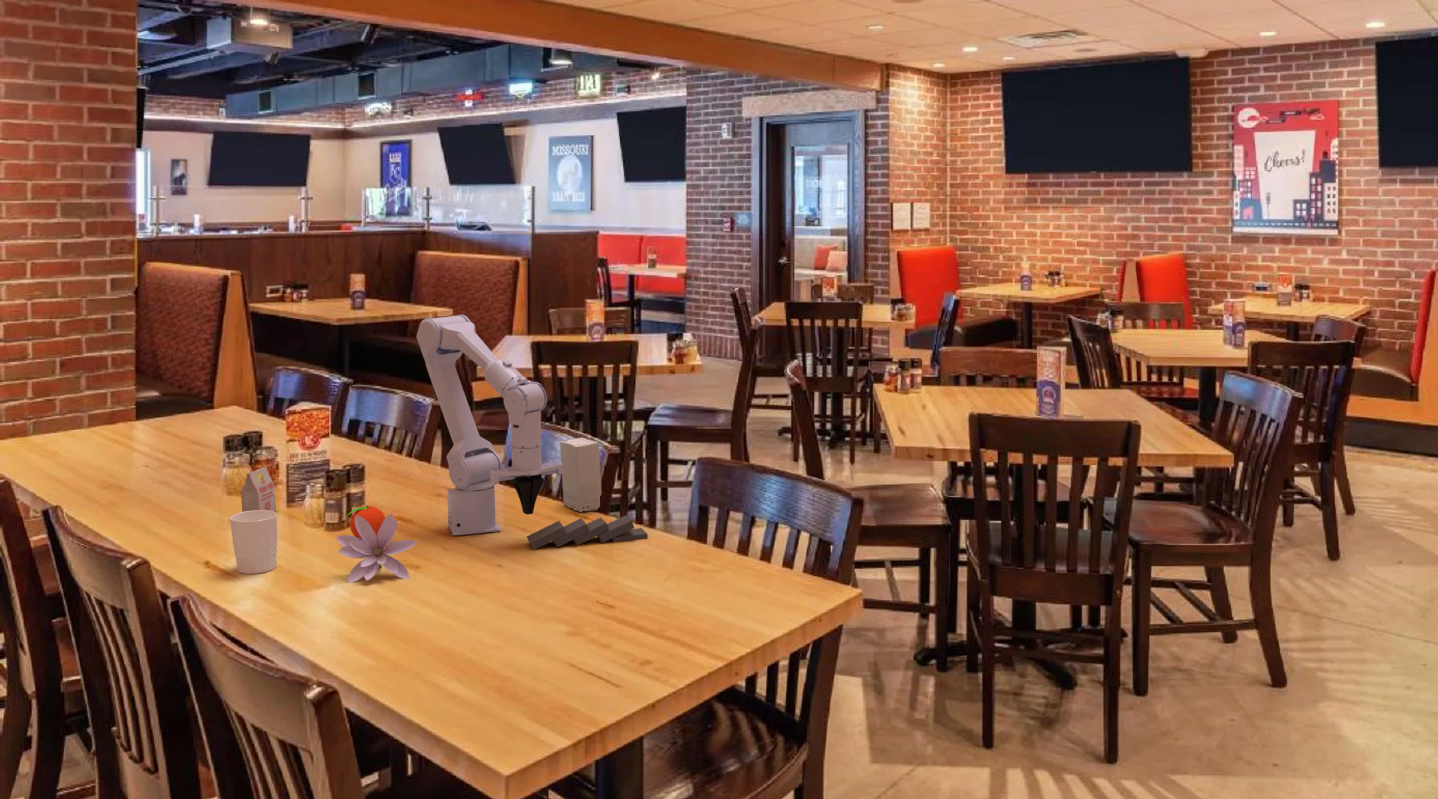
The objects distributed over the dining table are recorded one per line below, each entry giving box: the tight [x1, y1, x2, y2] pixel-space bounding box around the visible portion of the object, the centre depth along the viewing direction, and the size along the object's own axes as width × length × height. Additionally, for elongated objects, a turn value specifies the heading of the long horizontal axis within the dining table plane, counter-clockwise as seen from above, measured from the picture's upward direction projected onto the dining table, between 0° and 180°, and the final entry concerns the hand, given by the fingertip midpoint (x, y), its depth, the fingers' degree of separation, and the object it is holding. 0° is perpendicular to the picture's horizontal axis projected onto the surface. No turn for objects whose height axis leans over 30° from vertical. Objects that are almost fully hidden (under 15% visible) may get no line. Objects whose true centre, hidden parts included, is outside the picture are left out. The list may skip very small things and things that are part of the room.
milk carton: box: [240, 466, 277, 513], centre depth 249 cm, size 4×7×10 cm, turn 170°
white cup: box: [229, 510, 278, 575], centre depth 214 cm, size 8×8×10 cm
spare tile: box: [572, 517, 609, 546], centre depth 232 cm, size 2×4×7 cm
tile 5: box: [610, 527, 649, 543], centre depth 235 cm, size 2×4×7 cm
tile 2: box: [552, 517, 589, 548], centre depth 230 cm, size 2×4×7 cm
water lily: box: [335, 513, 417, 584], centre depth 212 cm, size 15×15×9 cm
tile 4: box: [596, 515, 635, 543], centre depth 233 cm, size 2×4×7 cm
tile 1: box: [526, 520, 567, 550], centre depth 229 cm, size 2×4×7 cm
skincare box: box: [559, 437, 603, 512], centre depth 256 cm, size 8×6×15 cm
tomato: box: [344, 505, 386, 540], centre depth 231 cm, size 8×7×7 cm
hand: (528, 513), depth 231 cm, fingers closed
